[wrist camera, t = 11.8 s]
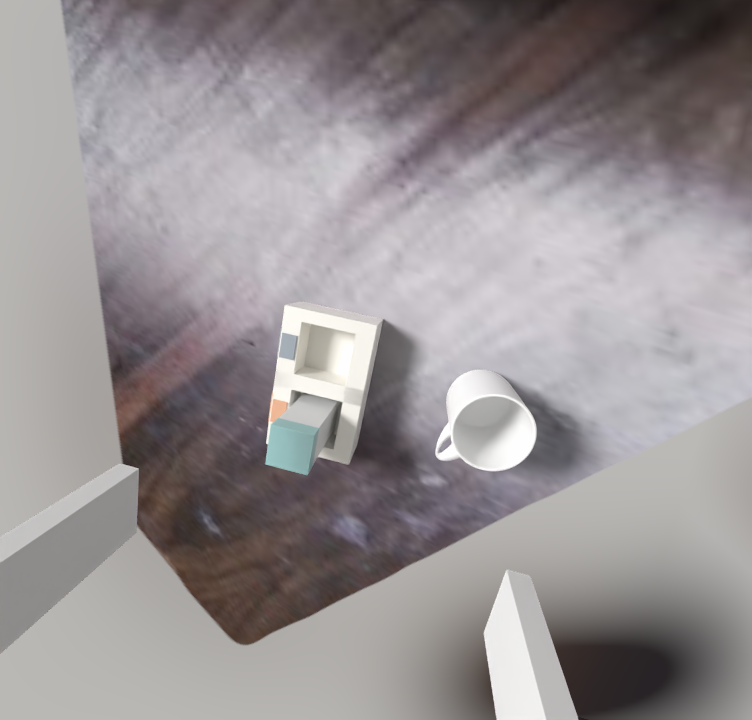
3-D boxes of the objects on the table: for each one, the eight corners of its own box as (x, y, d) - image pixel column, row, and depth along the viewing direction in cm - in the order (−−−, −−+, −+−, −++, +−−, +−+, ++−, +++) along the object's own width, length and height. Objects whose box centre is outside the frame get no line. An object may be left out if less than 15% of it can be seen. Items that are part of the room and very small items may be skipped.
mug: (413, 411, 50) (409, 448, 40) (483, 354, 47) (499, 377, 36) (455, 456, 51) (462, 504, 40) (527, 402, 47) (555, 438, 37)
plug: (308, 388, 49) (270, 424, 37) (341, 396, 49) (314, 435, 37) (303, 419, 50) (265, 464, 39) (335, 428, 50) (307, 475, 38)
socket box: (299, 300, 48) (281, 304, 42) (383, 319, 47) (376, 325, 42) (281, 424, 53) (263, 443, 47) (357, 443, 52) (348, 465, 46)
